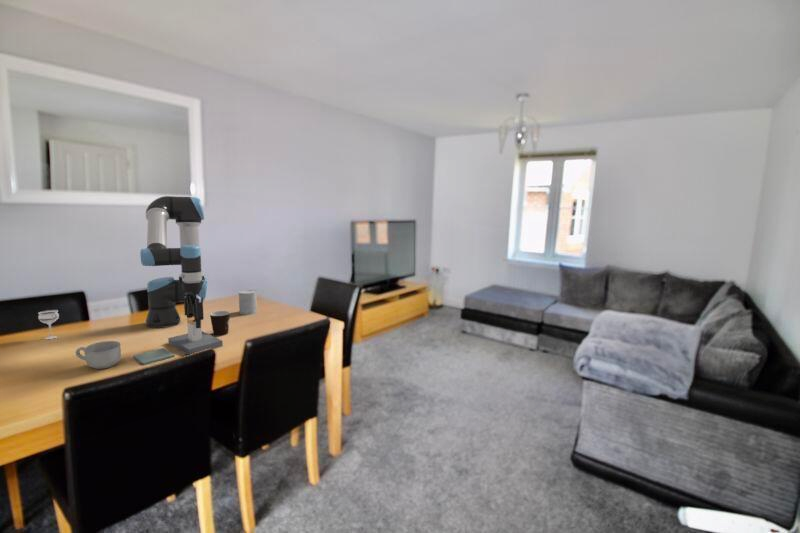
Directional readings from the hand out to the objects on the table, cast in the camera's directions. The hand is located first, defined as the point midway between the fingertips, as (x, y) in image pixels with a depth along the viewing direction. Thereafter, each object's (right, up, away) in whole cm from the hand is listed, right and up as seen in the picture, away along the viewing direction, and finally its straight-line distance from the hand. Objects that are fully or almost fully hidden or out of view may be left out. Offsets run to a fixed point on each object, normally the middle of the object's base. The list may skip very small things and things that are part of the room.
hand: (194, 333), depth 165 cm
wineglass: (-66, -3, +3) cm, 66 cm away
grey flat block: (0, -5, +1) cm, 5 cm away
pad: (-9, -7, -14) cm, 18 cm away
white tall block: (0, -5, +1) cm, 5 cm away
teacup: (-23, -8, -23) cm, 34 cm away
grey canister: (+2, +2, +53) cm, 53 cm away
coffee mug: (+4, -3, +18) cm, 18 cm away
